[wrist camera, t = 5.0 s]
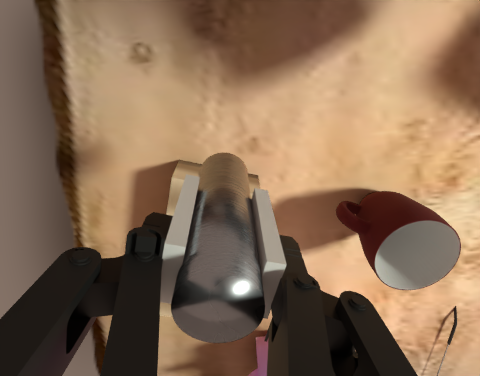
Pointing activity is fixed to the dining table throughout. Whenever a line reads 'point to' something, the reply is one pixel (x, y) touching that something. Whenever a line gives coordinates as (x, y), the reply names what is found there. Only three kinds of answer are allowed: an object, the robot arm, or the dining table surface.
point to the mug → (402, 239)
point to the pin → (220, 258)
